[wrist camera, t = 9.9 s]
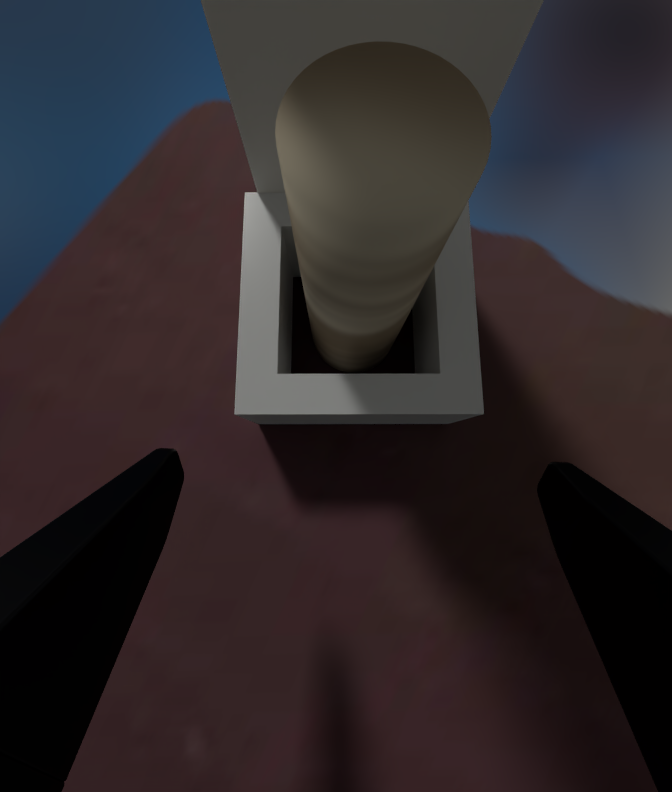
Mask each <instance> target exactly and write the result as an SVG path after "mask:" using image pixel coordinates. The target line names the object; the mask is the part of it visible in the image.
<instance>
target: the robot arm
mask: <svg viewBox="0 0 672 792" xmlns="http://www.w3.org/2000/svg"><path fill="white" fill-rule="evenodd" d="M183 481H184V471H183V468H182V465H181V462H180V458H179V455H178V453H177V451H176V450H175V449H168V448H159V449H156V450H154V451H153V452H151V453H150V454H148V455H147V456H146V457H144V458H143V459H141V460H140V461H138V462H137V463H135V464H134V465H133V466H131V467H130V468H128V469H127V470H125V471H124V472H122V473H121V474H120V475H118V476H117V477H115V478H114V479H112V480H111V481H110V482H108V483H107V484H105V485H104V486H102V487H101V488H99V489H98V490H97V491H95V492H94V493H92V494H91V495H89V496H88V497H86V498H85V499H84V500H82V501H81V502H79V503H78V504H76V505H75V506H73V507H72V508H71V509H69V510H68V511H66V512H65V513H63V514H62V515H61V516H59V517H58V518H56V519H55V520H53V521H52V522H50V523H49V524H48V525H46V526H45V527H43V528H42V529H40V530H39V531H37V532H36V533H35V534H33V535H32V536H30V537H29V538H27V539H26V540H25V541H23V542H22V543H20V544H19V545H17V546H16V547H14V548H13V549H12V550H10V551H9V552H7V553H6V554H4V555H3V556H1V557H0V792H62V789H63V787H64V781H65V780H66V779H67V777H68V774H69V772H70V769H71V767H72V765H73V762H74V760H75V758H76V755H77V753H78V750H79V748H80V746H81V743H82V741H83V738H84V736H85V734H86V731H87V729H88V726H89V724H90V722H91V719H92V717H93V714H94V712H95V710H96V707H97V705H98V702H99V700H100V698H101V695H102V693H103V690H104V688H105V686H106V683H107V681H108V679H109V676H110V674H111V671H112V669H113V667H114V664H115V662H116V659H117V657H118V655H119V652H120V650H121V647H122V645H123V643H124V640H125V638H126V635H127V633H128V631H129V628H130V626H131V623H132V621H133V619H134V616H135V614H136V612H137V609H138V607H139V604H140V602H141V600H142V597H143V595H144V592H145V590H146V588H147V585H148V583H149V580H150V578H151V576H152V573H153V571H154V568H155V566H156V564H157V561H158V559H159V556H160V554H161V552H162V549H163V547H164V544H165V541H166V539H167V536H168V532H169V529H170V526H171V522H172V519H173V516H174V512H175V509H176V505H177V502H178V499H179V495H180V492H181V488H182V485H183ZM537 492H538V497H539V500H540V503H541V506H542V510H543V513H544V516H545V519H546V522H547V526H548V529H549V532H550V535H551V539H552V542H553V545H554V548H555V551H556V554H557V556H558V559H559V561H560V564H561V566H562V568H563V571H564V573H565V575H566V578H567V580H568V582H569V585H570V587H571V589H572V592H573V594H574V596H575V599H576V601H577V603H578V606H579V608H580V610H581V613H582V615H583V617H584V620H585V622H586V624H587V627H588V629H589V631H590V634H591V636H592V638H593V641H594V643H595V645H596V648H597V650H598V652H599V655H600V657H601V659H602V662H603V664H604V666H605V669H606V671H607V673H608V676H609V678H610V680H611V683H612V685H613V687H614V690H615V692H616V694H617V697H618V699H619V701H620V704H621V706H622V708H623V711H624V713H625V715H626V718H627V720H628V722H629V725H630V727H631V729H632V732H633V734H634V736H635V739H636V741H637V743H638V746H639V748H640V750H641V753H642V755H643V757H644V760H645V762H646V764H647V767H648V769H649V771H650V774H651V776H652V778H653V781H654V783H655V785H656V788H657V790H658V792H672V531H671V530H670V529H668V528H667V527H665V526H664V525H662V524H661V523H659V522H658V521H656V520H655V519H653V518H652V517H650V516H649V515H647V514H646V513H644V512H643V511H641V510H640V509H638V508H637V507H635V506H634V505H632V504H631V503H630V502H628V501H627V500H625V499H624V498H622V497H621V496H619V495H618V494H616V493H615V492H613V491H612V490H610V489H609V488H607V487H606V486H604V485H603V484H601V483H600V482H598V481H597V480H595V479H594V478H592V477H591V476H589V475H588V474H586V473H585V472H583V471H582V470H580V469H579V468H577V467H576V466H574V465H573V464H571V463H568V462H551V463H550V464H549V465H548V466H547V468H546V470H545V472H544V474H543V476H542V478H541V479H540V481H539V483H538V487H537Z"/></svg>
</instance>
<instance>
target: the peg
mask: <svg viewBox="0 0 672 792" xmlns="http://www.w3.org/2000/svg"><path fill="white" fill-rule="evenodd" d="M275 137H276V146H277V152H278V157H279V162H280V168H281V173H282V178H283V183H284V189H285V194H286V199H287V205H288V210H289V215H290V220H291V226H292V231H293V236H294V241H295V247H296V252H297V257H298V263H299V268H300V273H301V278H302V284H303V289H304V294H305V300H306V305H307V310H308V315H309V321H310V326H311V331H312V337H313V342H314V346H315V348H316V350H317V352H318V354H319V355H320V357H321V358H322V359H323V360H324V361H325V362H326V363H327V364H328V365H330V366H331V367H333V368H335V369H337V370H339V371H343V372H348V373H359V372H364V371H367V370H370V369H372V368H374V367H376V366H377V365H378V364H380V363H381V362H382V361H383V360H384V359H385V357H386V356H387V355H388V353H389V351H390V349H391V347H392V346H393V344H394V342H395V340H396V338H397V336H398V334H399V332H400V330H401V328H402V326H403V324H404V323H405V321H406V319H407V317H408V315H409V313H410V311H411V309H412V307H413V305H414V303H415V301H416V300H417V298H418V296H419V294H420V292H421V290H422V288H423V286H424V284H425V282H426V280H427V279H428V277H429V275H430V273H431V271H432V269H433V267H434V265H435V263H436V261H437V259H438V257H439V256H440V254H441V252H442V250H443V248H444V246H445V244H446V242H447V240H448V238H449V236H450V234H451V233H452V231H453V229H454V227H455V225H456V223H457V221H458V219H459V217H460V215H461V213H462V211H463V210H464V208H465V206H466V204H467V202H468V200H469V198H470V196H471V194H472V192H473V190H474V188H475V187H476V185H477V183H478V181H479V179H480V177H481V175H482V173H483V171H484V168H485V166H486V164H487V161H488V157H489V153H490V148H491V126H490V120H489V116H488V112H487V109H486V107H485V104H484V102H483V100H482V98H481V96H480V94H479V93H478V91H477V89H476V88H475V87H474V85H473V84H472V83H471V81H470V80H469V79H468V78H467V77H466V76H465V75H464V74H463V73H462V72H461V71H460V70H459V69H457V68H456V67H455V66H454V65H452V64H451V63H450V62H448V61H446V60H445V59H443V58H442V57H440V56H438V55H436V54H434V53H432V52H430V51H427V50H425V49H422V48H419V47H416V46H412V45H408V44H403V43H396V42H378V41H375V42H364V43H358V44H353V45H349V46H346V47H343V48H340V49H337V50H334V51H332V52H330V53H328V54H326V55H324V56H322V57H320V58H319V59H317V60H316V61H314V62H313V63H311V64H310V65H309V66H308V67H306V68H305V69H304V70H303V71H302V72H301V73H300V74H299V75H298V76H297V77H296V78H295V79H294V81H293V82H292V83H291V85H290V86H289V88H288V89H287V91H286V93H285V95H284V97H283V98H282V101H281V104H280V107H279V109H278V113H277V118H276V128H275Z"/></svg>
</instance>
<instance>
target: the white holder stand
mask: <svg viewBox="0 0 672 792" xmlns="http://www.w3.org/2000/svg"><path fill="white" fill-rule="evenodd" d="M201 3H202V6H203V10H204V13H205V16H206V20H207V23H208V27H209V30H210V33H211V36H212V40H213V44H214V47H215V50H216V54H217V57H218V60H219V64H220V67H221V71H222V74H223V77H224V81H225V84H226V88H227V90H228V95H229V98H230V101H231V105H232V108H233V111H234V115H235V118H236V122H237V125H238V128H239V132H240V135H241V139H242V142H243V145H244V149H245V152H246V156H247V159H248V162H249V166H250V169H251V173H252V176H253V179H254V183H255V186H256V190H257V193H245V203H244V224H243V245H242V266H241V287H240V309H239V330H238V351H237V372H236V393H235V415H237V416H240V417H242V418H244V419H247V420H249V421H252V422H254V423H257V424H450V423H454V422H457V421H461V420H465V419H468V418H472V417H475V416H479V415H483V414H484V406H483V393H482V379H481V365H480V352H479V338H478V325H477V311H476V297H475V284H474V270H473V257H472V243H471V229H470V216H469V202H467V204H466V206H465V208H464V210H463V211H462V213H461V215H460V217H459V219H458V221H457V223H456V225H455V227H454V229H453V231H452V233H451V234H450V236H449V238H448V240H447V242H446V244H445V246H444V248H443V250H442V252H441V254H440V256H439V257H438V259H437V261H436V263H435V265H434V267H433V269H432V271H431V273H430V275H429V277H428V279H427V280H426V282H425V284H424V286H423V288H422V290H421V292H420V294H419V296H418V298H417V300H416V301H415V303H414V305H413V307H412V316H413V340H414V365H415V374H291V359H292V310H293V277H301V273H300V268H299V263H298V257H297V252H296V247H295V241H294V236H293V231H292V226H291V220H290V215H289V210H288V205H287V199H286V194H285V189H284V183H283V178H282V173H281V168H280V162H279V157H278V152H277V146H276V137H275V128H276V118H277V113H278V109H279V107H280V104H281V101H282V98H283V97H284V95H285V93H286V91H287V89H288V88H289V86H290V85H291V83H292V82H293V81H294V79H295V78H296V77H297V76H298V75H299V74H300V73H301V72H302V71H303V70H304V69H305V68H306V67H308V66H309V65H310V64H311V63H313V62H314V61H316V60H317V59H319V58H320V57H322V56H324V55H326V54H328V53H330V52H332V51H334V50H337V49H340V48H343V47H346V46H349V45H353V44H358V43H364V42H375V41H378V42H396V43H403V44H408V45H412V46H416V47H419V48H422V49H425V50H427V51H430V52H432V53H434V54H436V55H438V56H440V57H442V58H443V59H445V60H446V61H448V62H450V63H451V64H452V65H454V66H455V67H456V68H457V69H459V70H460V71H461V72H462V73H463V74H464V75H465V76H466V77H467V78H468V79H469V80H470V81H471V83H472V84H473V85H474V87H475V88H476V89H477V91H478V93H479V94H480V96H481V98H482V100H483V102H484V104H485V107H486V109H487V112H488V116H489V118H490V116H491V114H492V112H493V109H494V107H495V105H496V103H497V101H498V98H499V96H500V94H501V92H502V90H503V88H504V85H505V83H506V81H507V79H508V77H509V75H510V72H511V70H512V68H513V66H514V64H515V62H516V59H517V57H518V55H519V53H520V51H521V49H522V46H523V44H524V42H525V40H526V38H527V35H528V33H529V31H530V29H531V27H532V25H533V22H534V20H535V18H536V16H537V14H538V11H539V9H540V7H541V5H542V3H543V0H201Z"/></svg>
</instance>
